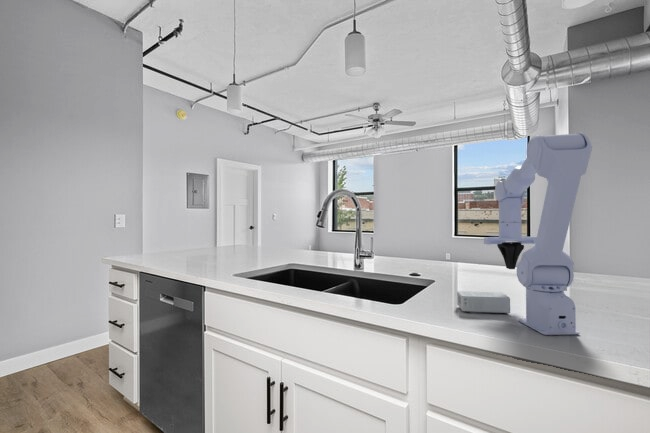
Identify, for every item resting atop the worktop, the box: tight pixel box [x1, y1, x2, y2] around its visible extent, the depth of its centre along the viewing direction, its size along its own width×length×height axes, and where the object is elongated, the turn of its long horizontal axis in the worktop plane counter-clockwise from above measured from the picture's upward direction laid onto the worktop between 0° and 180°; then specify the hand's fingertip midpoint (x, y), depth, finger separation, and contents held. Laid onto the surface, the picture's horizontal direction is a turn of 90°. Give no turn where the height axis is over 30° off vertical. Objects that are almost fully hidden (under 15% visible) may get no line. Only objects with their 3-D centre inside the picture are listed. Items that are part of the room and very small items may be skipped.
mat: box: [467, 311, 496, 314], centre depth 87 cm, size 7×10×1 cm, turn 90°
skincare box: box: [456, 290, 511, 314], centre depth 85 cm, size 6×4×12 cm
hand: (510, 268), depth 91 cm, fingers closed
